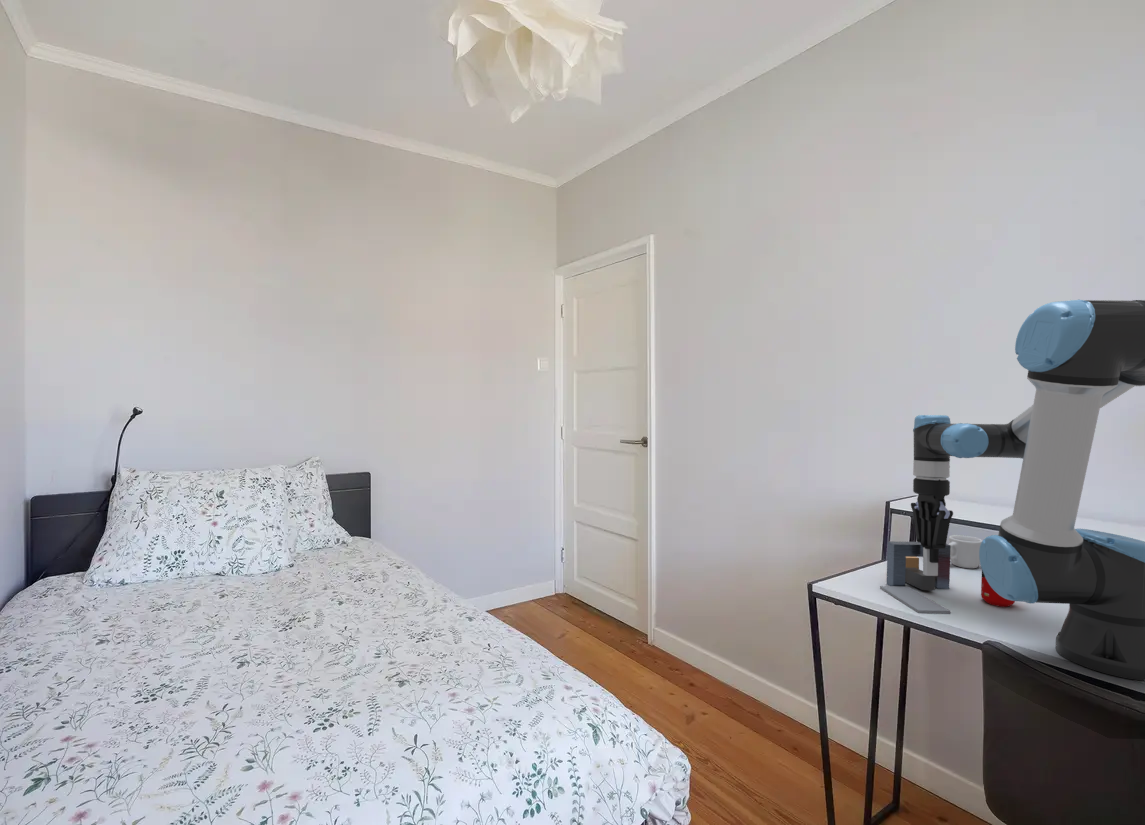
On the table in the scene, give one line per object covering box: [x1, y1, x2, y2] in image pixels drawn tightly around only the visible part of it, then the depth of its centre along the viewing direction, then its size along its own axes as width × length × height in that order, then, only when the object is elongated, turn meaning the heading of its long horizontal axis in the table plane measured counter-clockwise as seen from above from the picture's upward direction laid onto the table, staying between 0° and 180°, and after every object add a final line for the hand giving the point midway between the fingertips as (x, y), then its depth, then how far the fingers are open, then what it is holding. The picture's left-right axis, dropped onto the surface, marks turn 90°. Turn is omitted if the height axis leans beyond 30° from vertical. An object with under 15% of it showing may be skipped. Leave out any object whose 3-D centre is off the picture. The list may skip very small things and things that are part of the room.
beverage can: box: [980, 570, 1016, 608], centre depth 132 cm, size 6×6×12 cm
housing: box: [886, 541, 951, 590], centre depth 143 cm, size 3×14×11 cm, turn 89°
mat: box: [879, 585, 951, 615], centre depth 133 cm, size 16×7×1 cm, turn 179°
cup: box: [947, 534, 984, 569], centre depth 160 cm, size 11×8×8 cm
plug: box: [905, 557, 936, 591], centre depth 145 cm, size 13×5×6 cm, turn 179°
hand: (930, 574), depth 138 cm, fingers closed
